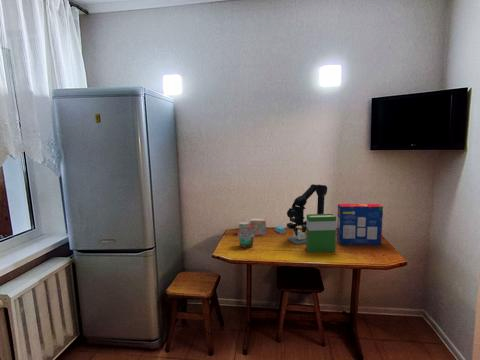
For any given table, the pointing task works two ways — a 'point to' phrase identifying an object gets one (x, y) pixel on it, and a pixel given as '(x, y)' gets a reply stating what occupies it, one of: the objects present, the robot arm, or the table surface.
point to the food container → (245, 240)
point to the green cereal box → (321, 232)
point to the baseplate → (297, 240)
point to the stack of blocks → (253, 226)
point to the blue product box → (359, 224)
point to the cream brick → (300, 235)
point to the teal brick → (280, 229)
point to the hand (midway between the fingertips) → (299, 235)
